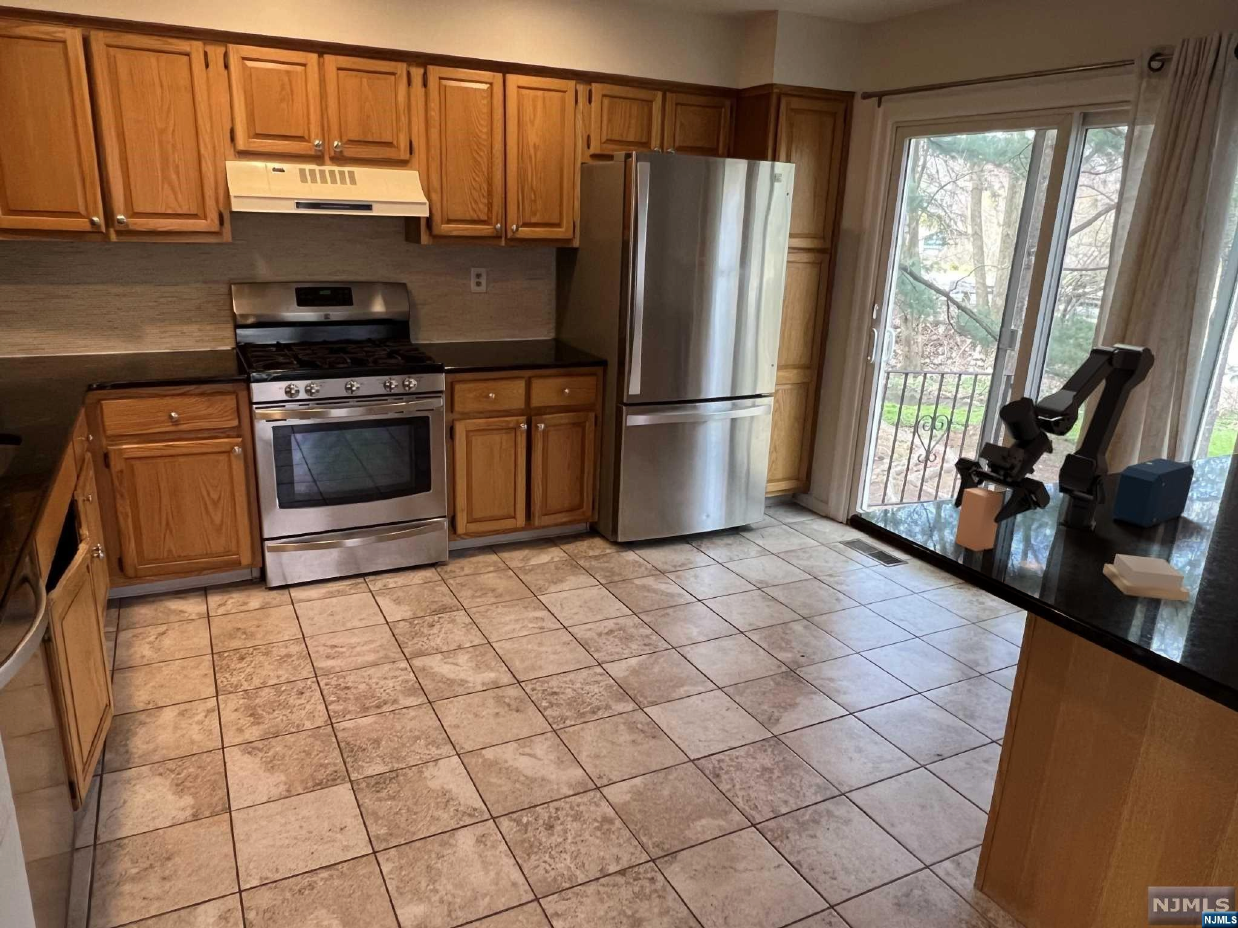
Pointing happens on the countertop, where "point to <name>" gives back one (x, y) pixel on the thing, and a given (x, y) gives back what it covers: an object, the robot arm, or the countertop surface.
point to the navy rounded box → (1152, 491)
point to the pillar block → (978, 518)
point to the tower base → (1143, 587)
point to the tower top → (1148, 571)
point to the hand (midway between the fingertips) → (974, 514)
